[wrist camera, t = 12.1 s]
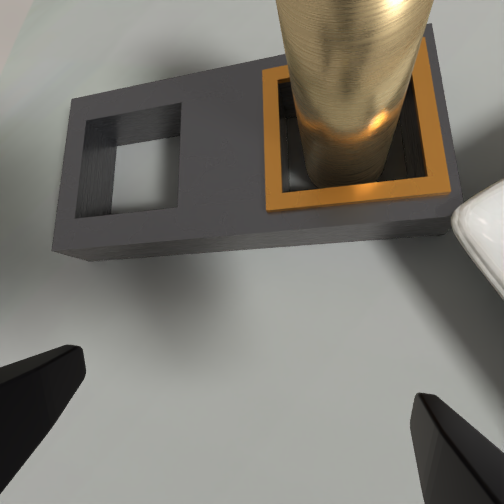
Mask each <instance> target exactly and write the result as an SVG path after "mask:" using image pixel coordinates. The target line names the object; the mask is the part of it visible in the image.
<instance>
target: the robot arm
mask: <svg viewBox="0 0 504 504" xmlns="http://www.w3.org/2000/svg"><path fill="white" fill-rule="evenodd" d="M85 375H86V366H85V360H84V354H83V349H82V348H81V347H80V346H75V345H64V346H61V347H58V348H55V349H52V350H49V351H47V352H44V353H41V354H38V355H35V356H32V357H29V358H26V359H23V360H20V361H18V362H15V363H12V364H9V365H6V366H3V367H0V494H1V493H2V491H3V490H4V489H5V488H6V486H7V485H8V484H9V482H10V481H11V480H12V479H13V477H14V476H15V475H16V473H17V472H18V471H19V470H20V468H21V467H22V466H23V465H24V463H25V462H26V461H27V459H28V458H29V457H30V456H31V454H32V453H33V452H34V450H35V449H36V448H37V447H38V445H39V444H40V443H41V441H42V440H43V439H44V438H45V436H46V435H47V434H48V432H49V431H50V430H51V428H52V427H53V425H54V424H55V423H56V421H57V420H58V418H59V417H60V415H61V413H62V412H63V410H64V409H65V407H66V406H67V404H68V403H69V401H70V400H71V398H72V397H73V395H74V394H75V392H76V391H77V389H78V388H79V386H80V384H81V383H82V381H83V380H84V378H85ZM410 430H411V436H412V441H413V446H414V452H415V457H416V462H417V468H418V473H419V478H420V483H421V489H422V493H423V498H424V502H425V504H504V453H503V452H502V451H501V450H500V449H499V448H497V447H496V446H495V445H494V444H493V443H492V442H490V441H489V440H488V439H487V438H486V437H484V436H483V435H482V434H481V433H480V432H479V431H477V430H476V429H475V428H474V427H473V426H472V425H470V424H469V423H468V422H467V421H466V420H465V419H463V418H462V417H461V416H460V415H459V414H457V413H456V412H455V411H454V410H453V409H452V408H450V407H449V406H448V405H447V404H446V403H445V402H443V401H442V400H441V399H440V398H439V397H437V396H436V395H433V394H426V393H417V394H416V395H415V398H414V403H413V409H412V414H411V419H410Z"/></svg>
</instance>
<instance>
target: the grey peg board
mask: <svg viewBox="0 0 504 504" xmlns="http://www.w3.org/2000/svg"><path fill="white" fill-rule="evenodd" d="M296 116H297V115H296V109H295V104H294V98H293V93H292V87H291V82H290V76H289V70H288V65H287V59H286V54H283V55H278V56H274V57H269V58H264V59H259V60H255V61H250V62H245V63H240V64H236V65H231V66H226V67H221V68H217V69H212V70H207V71H202V72H198V73H193V74H188V75H184V76H179V77H174V78H169V79H165V80H160V81H155V82H150V83H146V84H141V85H136V86H131V87H127V88H122V89H117V90H112V91H108V92H103V93H98V94H93V95H89V96H84V97H79V98H74V99H72V100H71V108H70V115H69V123H68V131H67V138H66V146H65V153H64V161H63V169H62V176H61V184H60V192H59V199H58V207H57V214H56V222H55V230H54V237H53V245H52V251H54V252H57V253H61V254H64V255H68V256H71V257H75V258H79V259H82V260H86V261H101V260H115V259H128V258H141V257H154V256H168V255H181V254H194V253H207V252H221V251H234V250H247V249H260V248H273V247H287V246H300V245H313V244H326V243H340V242H353V241H366V240H379V239H393V238H406V237H419V236H432V235H444V234H445V233H446V232H447V231H448V230H450V229H451V228H452V226H451V217H452V214H453V212H454V211H455V210H456V209H457V208H458V207H459V206H460V205H461V204H463V203H464V202H463V196H462V191H461V185H460V180H459V174H458V168H457V163H456V157H455V151H454V146H453V140H452V135H451V129H450V123H449V118H448V112H447V107H446V101H445V95H444V90H443V84H442V78H441V73H440V67H439V62H438V56H437V50H436V45H435V39H434V34H433V28H432V23H430V24H426V28H425V31H424V34H423V38H422V41H421V44H420V48H419V51H418V54H417V58H416V61H415V65H414V68H413V71H412V75H411V78H410V81H409V85H408V88H407V92H406V95H405V98H404V102H403V105H402V108H401V112H400V115H399V117H400V124H401V132H402V139H403V146H404V153H405V161H406V168H407V175H408V179H402V180H393V181H384V182H375V183H366V184H358V185H349V186H340V187H331V188H322V189H314V190H305V191H296V192H290V187H289V165H288V143H287V121H286V118H289V117H296ZM175 136H180V156H179V181H178V206H177V207H175V208H167V209H158V210H149V211H140V212H131V213H122V214H113V215H110V214H111V203H112V192H113V181H114V170H115V159H116V148H117V146H121V145H127V144H133V143H139V142H145V141H151V140H157V139H163V138H169V137H175Z"/></svg>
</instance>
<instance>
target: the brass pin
mask: <svg viewBox="0 0 504 504" xmlns="http://www.w3.org/2000/svg"><path fill="white" fill-rule="evenodd" d="M433 1H434V0H276V4H277V10H278V15H279V21H280V26H281V32H282V37H283V43H284V48H285V54H286V59H287V65H288V70H289V76H290V82H291V87H292V93H293V98H294V104H295V109H296V115H297V120H298V126H299V131H300V137H301V142H302V148H303V153H304V159H305V164H306V170H307V173H308V175H309V178H310V179H311V181H312V182H313V183H314V184H315V185H316V186H317V187H318V188H319V189H322V188H331V187H340V186H349V185H358V184H366V183H375V182H376V181H377V179H378V178H379V177H380V175H381V173H382V171H383V169H384V166H385V162H386V159H387V155H388V152H389V149H390V145H391V142H392V139H393V135H394V132H395V129H396V125H397V122H398V118H399V115H400V112H401V108H402V105H403V102H404V98H405V95H406V92H407V88H408V85H409V81H410V78H411V75H412V71H413V68H414V65H415V61H416V58H417V54H418V51H419V48H420V44H421V41H422V38H423V34H424V31H425V28H426V24H427V21H428V17H429V14H430V11H431V7H432V4H433Z"/></svg>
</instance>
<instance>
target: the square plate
mask: <svg viewBox="0 0 504 504" xmlns="http://www.w3.org/2000/svg"><path fill="white" fill-rule="evenodd" d="M451 226H452V230H453V232H454V234H455V236H456V237H457V239H458V240H459V242H460V243H461V245H462V246H463V248H464V250H465V251H466V252H467V254H468V255H469V256H470V258H471V259H472V260H473V262H474V263H475V264H476V266H477V267H478V268H479V269H480V271H481V272H482V273H483V275H484V276H485V277H486V278H487V280H488V281H489V282H490V283H491V285H492V286H493V287H494V289H495V290H496V291H497V292H498V294H499V295H500V296H501V298H502V299H503V300H504V178H503V179H501V180H499V181H498V182H496V183H494V184H492V185H490V186H489V187H487V188H486V189H484V190H482V191H481V192H479V193H477V194H476V195H474V196H473V197H471V198H469V199H468V200H467V201H465V202H464V203H463V204H461V205H460V206H459V207H458V208H457V209H456V210H455V211H454V212H453V214H452V217H451Z"/></svg>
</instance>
